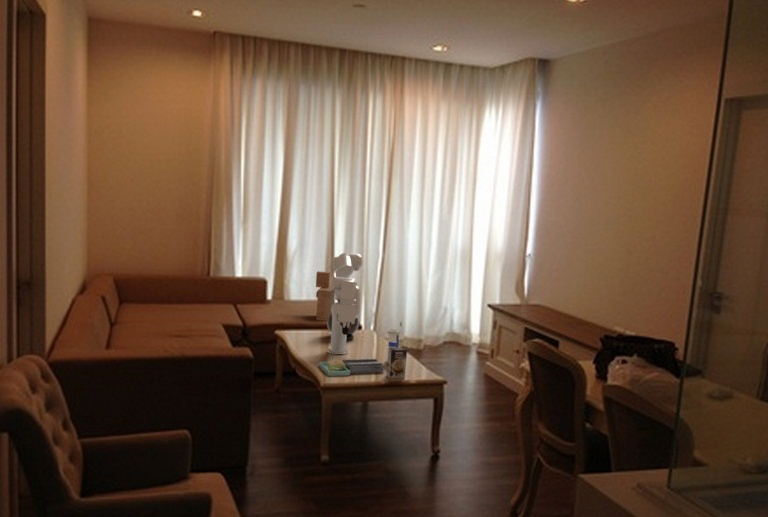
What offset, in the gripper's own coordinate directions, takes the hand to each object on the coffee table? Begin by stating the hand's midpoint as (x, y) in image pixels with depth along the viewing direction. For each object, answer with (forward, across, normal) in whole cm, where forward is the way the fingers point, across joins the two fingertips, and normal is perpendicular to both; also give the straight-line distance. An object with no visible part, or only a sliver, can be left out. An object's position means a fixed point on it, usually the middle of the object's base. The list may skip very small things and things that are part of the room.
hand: (344, 334), depth 381 cm
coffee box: (+21, -26, +16) cm, 37 cm away
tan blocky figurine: (+22, -32, -145) cm, 150 cm away
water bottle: (+21, -36, -14) cm, 44 cm away
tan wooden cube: (+16, +6, 0) cm, 18 cm away
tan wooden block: (+17, +3, +1) cm, 17 cm away
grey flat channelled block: (+21, -12, 0) cm, 24 cm away
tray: (+21, +5, 0) cm, 22 cm away
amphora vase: (+22, -25, -78) cm, 85 cm away
